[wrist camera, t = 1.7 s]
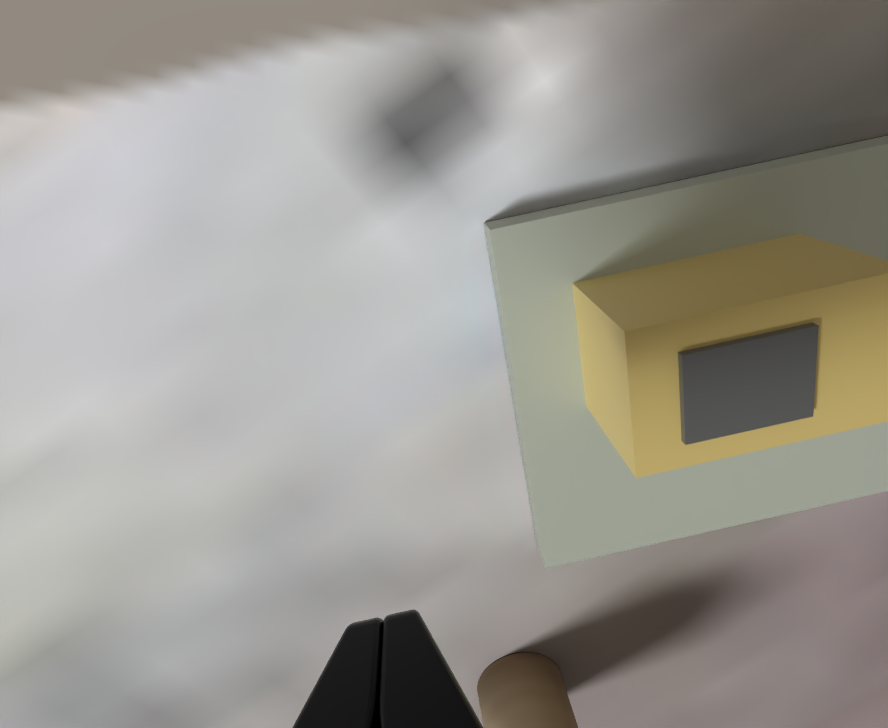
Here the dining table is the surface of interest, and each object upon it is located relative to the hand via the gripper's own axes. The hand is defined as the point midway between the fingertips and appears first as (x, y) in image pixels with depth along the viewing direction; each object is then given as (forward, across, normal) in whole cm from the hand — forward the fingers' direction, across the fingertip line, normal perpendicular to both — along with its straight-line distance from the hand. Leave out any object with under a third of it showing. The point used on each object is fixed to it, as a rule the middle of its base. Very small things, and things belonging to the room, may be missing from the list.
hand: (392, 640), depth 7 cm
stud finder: (+7, -7, 0) cm, 10 cm away
